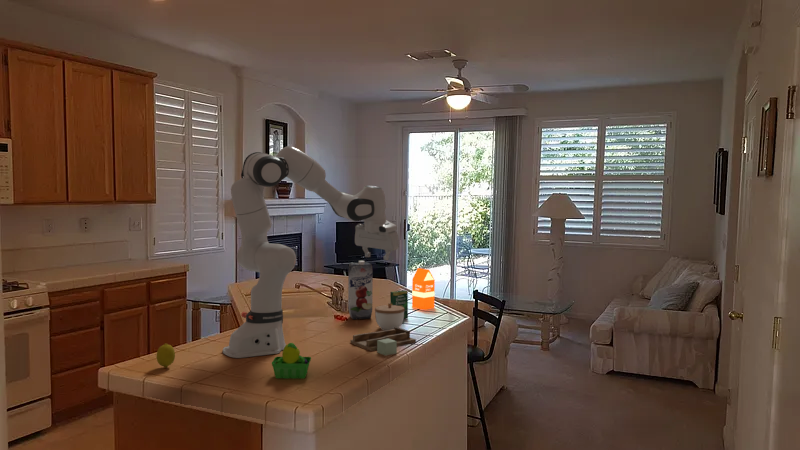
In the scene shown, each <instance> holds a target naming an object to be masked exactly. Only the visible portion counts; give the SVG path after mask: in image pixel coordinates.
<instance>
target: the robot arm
mask: <svg viewBox="0 0 800 450" xmlns="http://www.w3.org/2000/svg"><path fill="white" fill-rule="evenodd" d="M326 174H327V173H326V169H324V167H323V166H322V165H321V164H320V163H319V162H318V161H317V160H315V159H314V158H312V157H311V156H310V155H309V154H307V153H305V152H303V151H302V150H300V149H299V148H296V147H294V146H290V145H288V146H287V145H286V146H285V147H282V149H280V150H279V151H278V152H277V154H275V155H271V154H268V153H267V152H266V153H265V152H264V153H263V152H259V151H257V152H253V153H250V154H248V155H247V157H245V159H244V161H243V164H242V169H241V174H240V177H241V178H239V179H238V180H236V181H234V182H233V184H232V185H231V187H230V195H231V201H232V206H233V209H234V213H235V217H236V219H237V223H238V226H239V230H240V234H241V236H240V237H241V243H240V244H241V245H240V247H239V248H238V250H237V252H236V261H237V263H238V265H239V266H240V267H241V268H243V269H245V270H248V271H250V272H255V273H259V276H258V277H259V278H258V281H257V283H256V284H255V285H254V286H252V288H251V290H250V310H249V311H248V312H246V311H242V312H241V313H240V314H241V315H240V316H241V317H242V318H243V319H245V322H243V324H241V325H240V326H239V327H238V328H237V329H236V330H234V331H233V332H232V333H231V335H230V338H229V342H228V346H224V347H223V348H222V354H224V355H226V356H227V357H230V358H233V359H243V358H249V357H250V358H251V357H259V356H266V355H267V356H269V355H274V354H276V355H277V354H280V353H281V352H282V351H283V350H284V347H285V346H286V345H287V344H286V342H285V341H286V340H285V335H284V330H283V323H284V314H283V313H284V312H283V311H284V310H283V309H282V308H283V307H282V301H283V299H282V297H283V296H282V295H283V287H284V282H285V280H286V278H287V276H288V275H289V274H290V272H291V271H292V270H293V269H294V268H295V266H296V262H297V255H296V251H294V249H293V248H291V247H289V246H287V245H285V244H281V243H274V242H273V243H270V242H269V240H268V232H269V231H270V229H271V228H272V220H271V217H270V213H269V211H268V207H267V203H266V200H265V198H264V189H265V187H267V188H270V187H271V188H272V187H275V186H277V185H279V184H280V182H282V181H283V180H284V179H286V178H288V179H289V180H291V181H292V182H293V183H295V184H296V185H298V186H299V187H300V188H303V189H304V190H307V191H309V192H311V193H312V192H313V193H315V194H316V195H317V196H319V197H320V198H322V199H323V200H324V201H326V202H327V203H328V204H329V206H330V207H331V209H332V210H333V213H334V214H335V215H336V216H338V217H339V218H344V219H348V220H350V221H353V222H360V221H364V222H363V223H357V224H356V225H355V228H354V230H355V232H354V233H355V234H354V244H355V245H356V246H357V247H362V251H363V253H364V258H371V252H370V251H369V248H370V249H371V248H372V249H377V250H378V249H379V250H384V252H385V255H383V261H389V259H390V254H392V253H391V252H393V251H396V250H398V248H399V247H400V246H399V245H400V244H399V241H400V240H399V235H398V231H397V230H398V225H396V224H395V223H393V222H391V221H389V220H387V216H386V195H385V191H384V189H383V188H382V187H380V186H375V185H364V187H363V188H362V189H361V190H360V191H359V192H357V193H356V194H354V195H353V194H351V193H348V192H344V191H340V190H339V189H337V188H335V186H333V185H332V184H331V183H330V182H328V181H327V180H326V176H327V175H326Z"/></svg>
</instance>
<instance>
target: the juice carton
mask: <svg viewBox="0 0 800 450" xmlns="http://www.w3.org/2000/svg"><path fill="white" fill-rule="evenodd" d="M373 276H374V275H373V265H372V263H369V262H368V261H365V260H358V262H349V263H348V279H347V281H348V284H347V285H348V286H347V287H348V289H347V290H348V292H347V293H348V294H347V296H348V299H347V301H348V313H349V317H350V318H351V319H352V320H368V319H371V317H372V314H373V288H374V287H373V283H374V282H373Z"/></svg>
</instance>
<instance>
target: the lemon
mask: <svg viewBox="0 0 800 450" xmlns="http://www.w3.org/2000/svg"><path fill="white" fill-rule="evenodd" d="M175 359H176V351H175V349H174V347H173V346H172V345H171V344H168V343H166V342H165V343H164V344H163V345H160V346H159V347H158V349H157V351H156V361H157V364H159V366H161V367H164V368H165V369H167V368H168V367H169V366H171V365H172V364H173V363H174V361H175Z"/></svg>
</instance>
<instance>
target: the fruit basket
mask: <svg viewBox="0 0 800 450" xmlns="http://www.w3.org/2000/svg"><path fill="white" fill-rule="evenodd" d="M300 354H301V353H300V349H299V348H298V346H296V344H295V343H293V342H289V343H288V344H286V346H285V347H284V349H283V350H282V355H281V356H275V357H274V359H273V360H272V361H271V366H272V368H273V369H272V370H273V373H274V376H275V379H292V380H293V379H299V380H300V379H302V380H303V379H305V378H306V377H307V374H308V370H309V367H310V362H311V360H312V357H311V356H303V355H300Z"/></svg>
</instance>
